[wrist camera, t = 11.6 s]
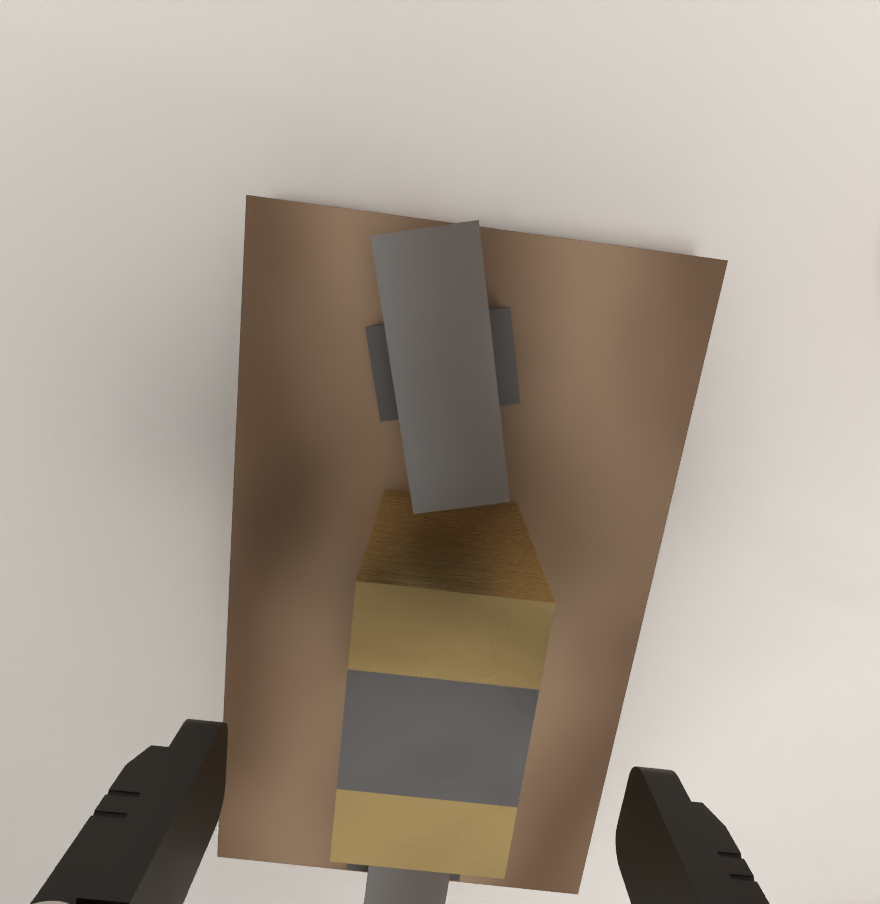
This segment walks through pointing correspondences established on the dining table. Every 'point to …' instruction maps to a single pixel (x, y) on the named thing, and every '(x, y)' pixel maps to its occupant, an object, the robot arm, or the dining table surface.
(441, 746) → the block
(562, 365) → the base
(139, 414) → the dining table surface
